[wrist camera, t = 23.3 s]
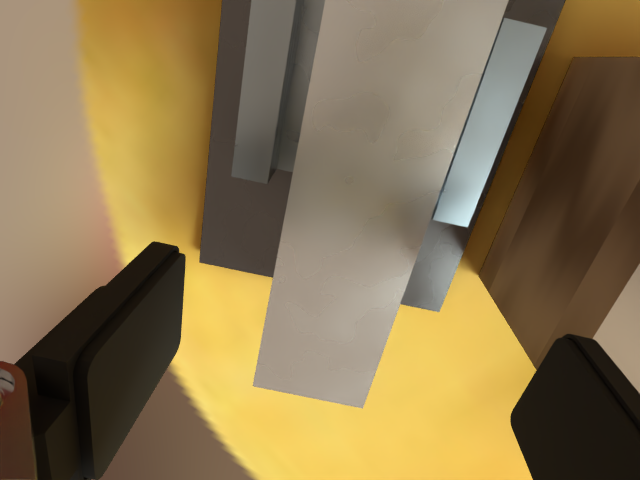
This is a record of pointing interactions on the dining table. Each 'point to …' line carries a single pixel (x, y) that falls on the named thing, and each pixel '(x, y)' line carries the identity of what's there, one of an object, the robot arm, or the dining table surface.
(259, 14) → the v-block
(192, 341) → the dining table surface
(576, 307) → the slotted wooden block
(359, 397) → the rectangular steel bar
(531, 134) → the dining table surface
